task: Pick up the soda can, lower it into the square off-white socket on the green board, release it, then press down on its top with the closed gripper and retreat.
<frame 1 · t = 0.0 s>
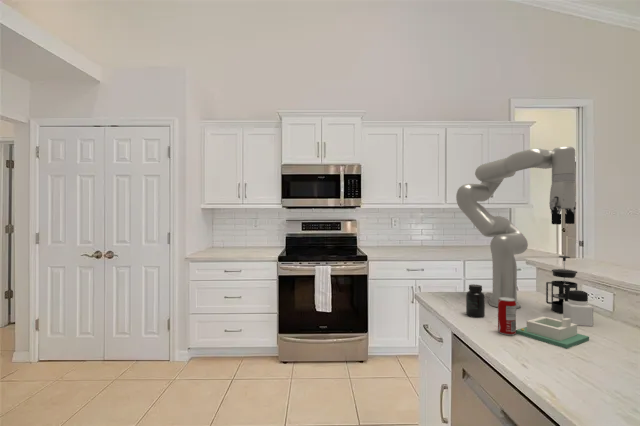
hand: (563, 224, 141), 37 cm above the counter, tool pointing down, fingers open, 9 cm apart
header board: (551, 336, 122), on the counter
soda can: (506, 333, 126), on the counter
french press: (562, 311, 152), on the counter
supplement bottle: (475, 315, 147), on the counter
medicine bottle: (577, 323, 137), on the counter
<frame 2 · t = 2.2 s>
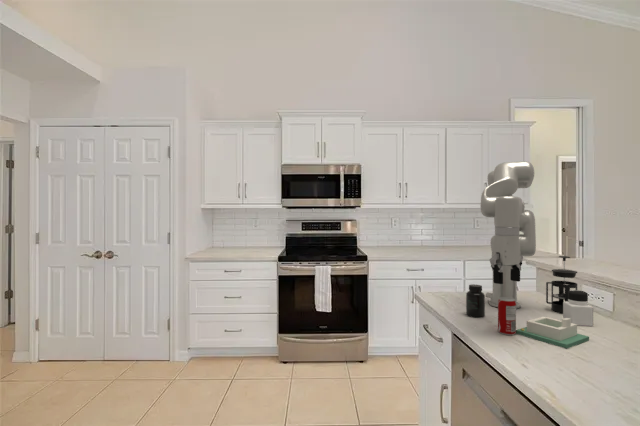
hand: (506, 282, 125), 17 cm above the counter, tool pointing down, fingers open, 9 cm apart
nothing on the counter moved.
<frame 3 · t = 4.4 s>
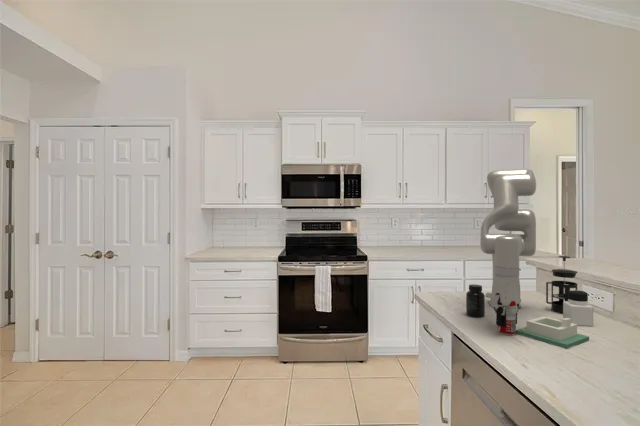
hand: (506, 324, 126), 3 cm above the counter, tool pointing down, fingers closed on soda can, 5 cm apart
soda can: (506, 333, 126), on the counter, touching gripper
everything else where it was.
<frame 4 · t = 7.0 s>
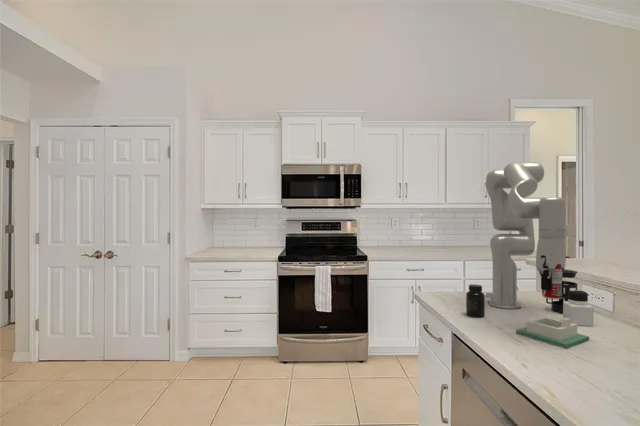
hand: (551, 288, 122), 16 cm above the counter, tool pointing down, fingers closed on soda can, 5 cm apart
soda can: (551, 298, 122), point 13 cm above the counter, touching gripper
everything else where it was.
when the fingers open (6 cm above the counter, at t = 9.5 s): soda can drops 2 cm, resting on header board.
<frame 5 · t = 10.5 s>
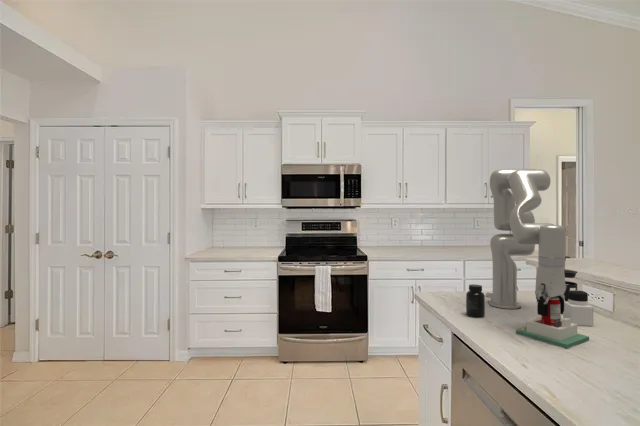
hand: (550, 313, 122), 8 cm above the counter, tool pointing down, fingers open, 9 cm apart
soda can: (551, 333, 122), point 1 cm above the counter, touching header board
everything else where it was.
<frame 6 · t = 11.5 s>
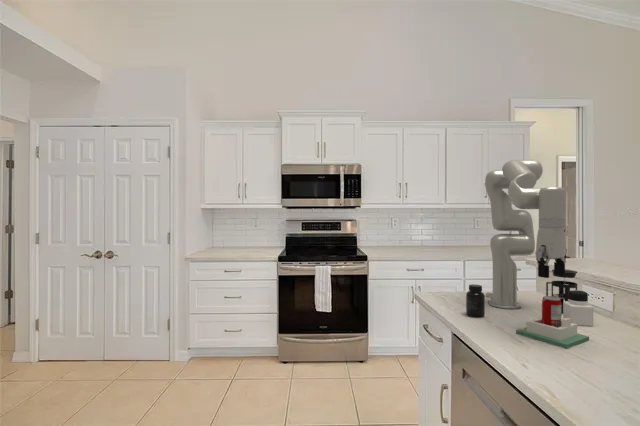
hand: (551, 275, 122), 20 cm above the counter, tool pointing down, fingers open, 9 cm apart
nothing on the counter moved.
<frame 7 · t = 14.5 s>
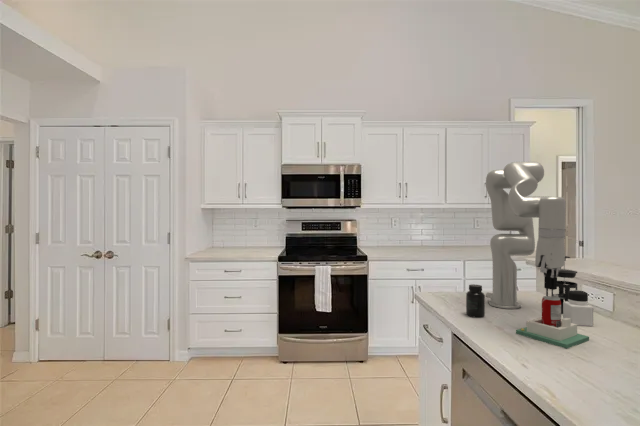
hand: (550, 288, 122), 16 cm above the counter, tool pointing down, fingers closed
nothing on the counter moved.
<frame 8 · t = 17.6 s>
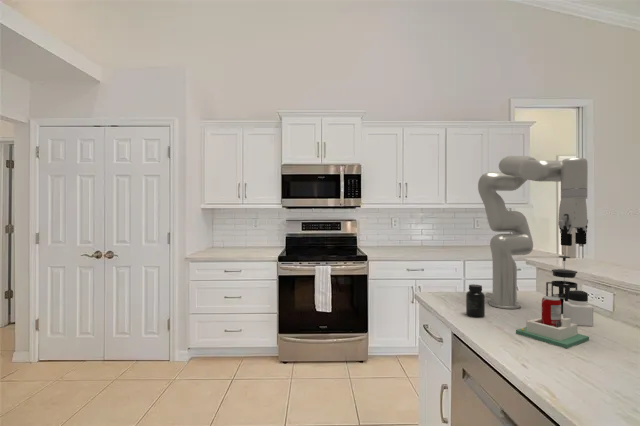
hand: (573, 244, 125), 30 cm above the counter, tool pointing down, fingers open, 9 cm apart
nothing on the counter moved.
at the end: soda can 0.3 cm off-centre on the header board, point 1.0 cm above the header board's base; soda can tilted 0°; the gripper is holding nothing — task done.
